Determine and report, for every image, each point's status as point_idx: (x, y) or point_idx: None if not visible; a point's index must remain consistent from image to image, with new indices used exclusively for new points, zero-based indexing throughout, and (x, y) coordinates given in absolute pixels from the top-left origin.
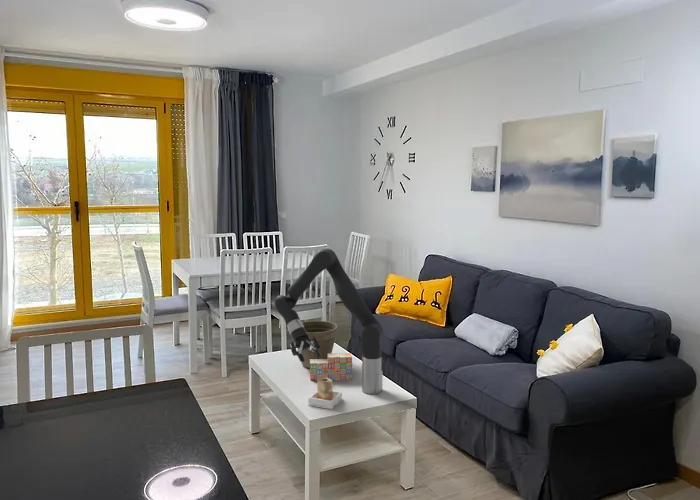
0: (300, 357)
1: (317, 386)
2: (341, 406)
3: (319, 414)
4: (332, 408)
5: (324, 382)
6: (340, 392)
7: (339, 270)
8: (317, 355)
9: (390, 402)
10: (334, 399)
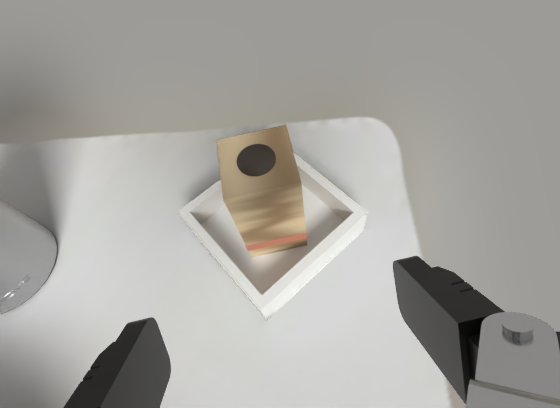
0: (468, 293)
1: (303, 207)
2: None
3: (344, 138)
4: None
5: (279, 127)
6: (184, 212)
7: None
8: (145, 338)
9: (56, 141)
10: None
